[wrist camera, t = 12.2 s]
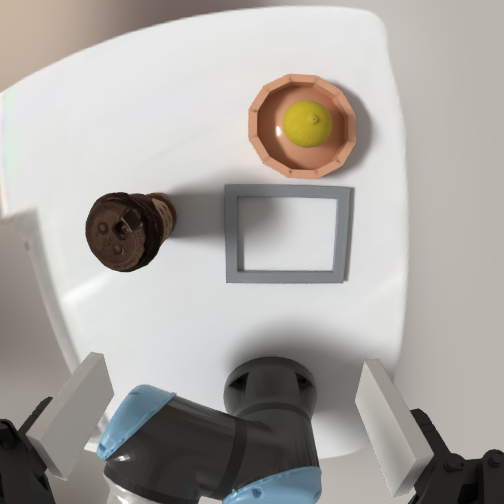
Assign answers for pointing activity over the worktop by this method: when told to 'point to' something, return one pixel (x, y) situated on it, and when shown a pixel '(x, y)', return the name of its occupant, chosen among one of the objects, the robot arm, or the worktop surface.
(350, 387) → the worktop surface
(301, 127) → the lemon
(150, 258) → the coffee cup
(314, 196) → the gray rectangular frame
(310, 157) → the bowl
